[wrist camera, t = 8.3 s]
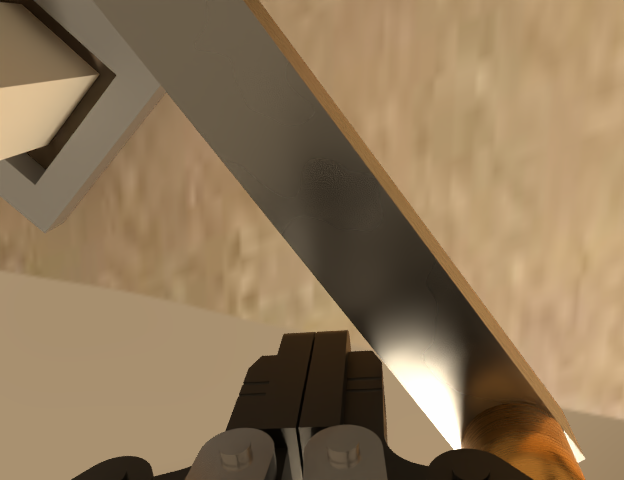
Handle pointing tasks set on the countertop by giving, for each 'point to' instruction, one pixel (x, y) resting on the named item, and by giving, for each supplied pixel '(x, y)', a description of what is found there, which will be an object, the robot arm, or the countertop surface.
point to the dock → (83, 123)
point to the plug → (35, 81)
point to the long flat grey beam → (349, 224)
